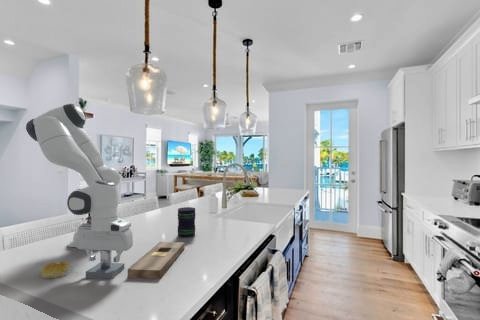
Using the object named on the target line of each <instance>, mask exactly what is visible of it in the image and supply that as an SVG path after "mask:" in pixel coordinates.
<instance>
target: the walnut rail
mask: <svg viewBox="0 0 480 320" xmlns="http://www.w3.org/2000/svg"><path fill="white" fill-rule="evenodd" d="M184 250H185V242H184V241H183V242H180V241H178V242H175V241H159V242H158V243H156V245H154V246H153V247H152V248H151V249H150V250H148V251H147V252H146V253H145V254H144V255H143V256H141V257H140V258H139V259H138V260H137V261H135V262H134V263H133V264H132V265H131V266H130V267H129V268H128V269H127V279H128V278H129V279H130V278H131V279H133V278H135V279H153V280H154V279H155V280H156V279H157V280H159V279H161V278H162V277H163V276H164V275H165V274H166V272H167V271H168V270H169V269H170V267H171V266H172V265H173V264H174V262H175V261H176V260H177V259H178V258H179V256H180V255H181V254H182V253H183V251H184Z"/></svg>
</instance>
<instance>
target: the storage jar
mask: <svg viewBox="0 0 480 320" xmlns="http://www.w3.org/2000/svg"><path fill="white" fill-rule="evenodd" d="M195 221H196V208H195V207H190V206H189V207H188V206H187V207H185V206H184V207H179V208H178V209H177V224H178V225H177V237H178V238H181V239H189V238H194V237H196V222H195Z"/></svg>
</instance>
